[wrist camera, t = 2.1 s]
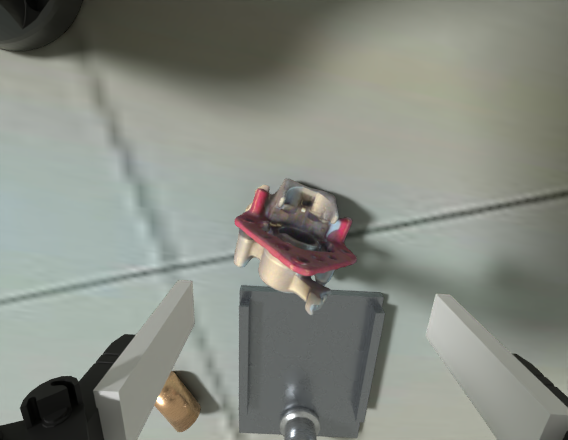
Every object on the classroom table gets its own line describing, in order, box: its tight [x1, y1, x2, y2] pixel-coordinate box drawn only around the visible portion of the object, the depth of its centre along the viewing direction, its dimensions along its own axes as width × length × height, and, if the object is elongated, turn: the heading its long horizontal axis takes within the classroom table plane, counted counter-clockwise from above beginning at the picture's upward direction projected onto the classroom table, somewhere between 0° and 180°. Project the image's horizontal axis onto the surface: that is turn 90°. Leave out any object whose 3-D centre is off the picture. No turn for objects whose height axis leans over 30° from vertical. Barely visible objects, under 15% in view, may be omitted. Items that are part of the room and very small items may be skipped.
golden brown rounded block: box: [154, 371, 201, 432], centre depth 34 cm, size 6×4×4 cm, turn 27°
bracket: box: [239, 286, 385, 440], centre depth 31 cm, size 22×16×7 cm
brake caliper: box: [234, 179, 357, 315], centre depth 25 cm, size 11×11×12 cm
